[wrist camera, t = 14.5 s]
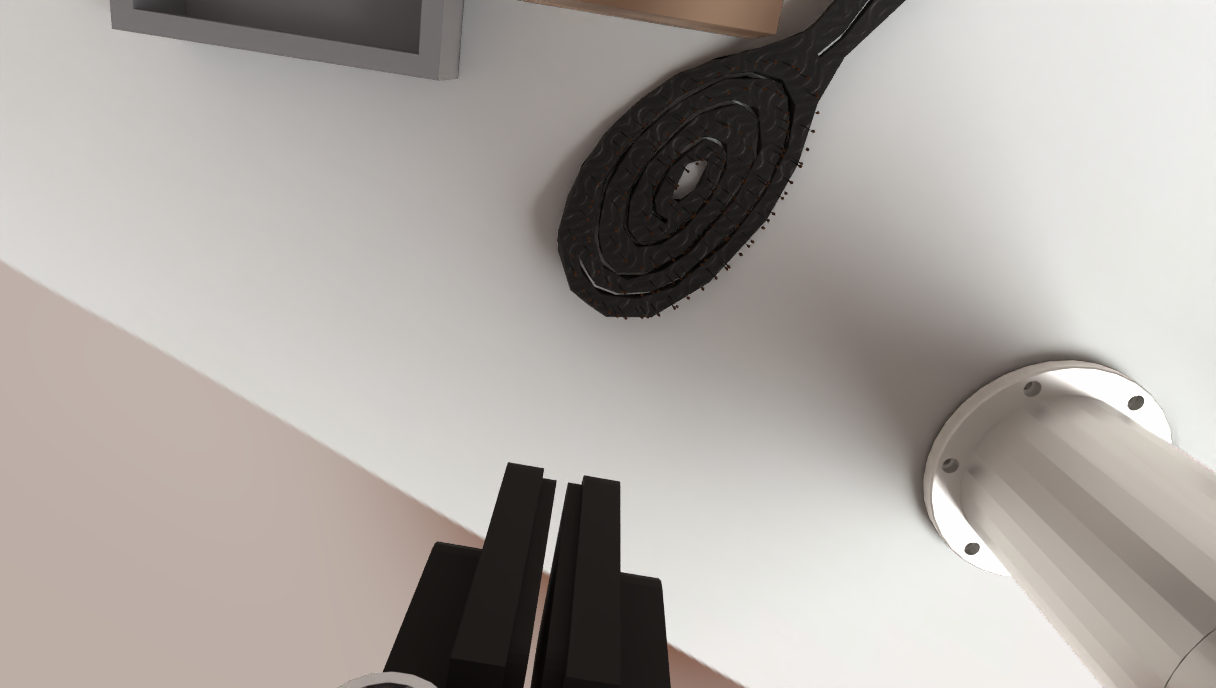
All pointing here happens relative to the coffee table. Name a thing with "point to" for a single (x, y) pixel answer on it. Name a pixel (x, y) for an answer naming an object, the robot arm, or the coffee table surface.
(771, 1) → the brown square platform
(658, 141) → the hairbrush
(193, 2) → the box
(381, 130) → the coffee table surface
